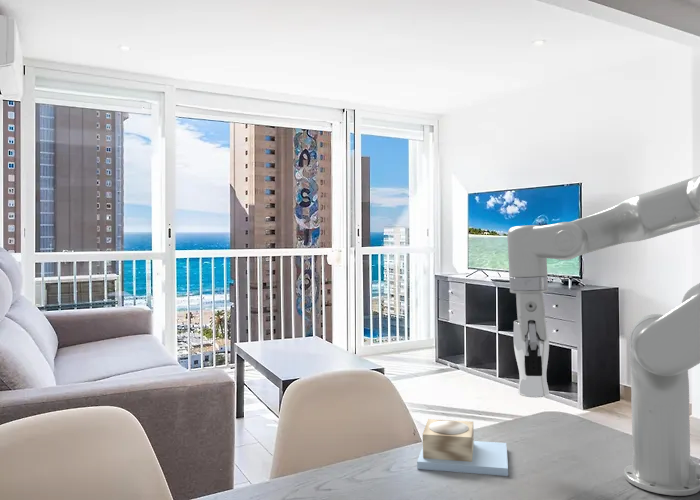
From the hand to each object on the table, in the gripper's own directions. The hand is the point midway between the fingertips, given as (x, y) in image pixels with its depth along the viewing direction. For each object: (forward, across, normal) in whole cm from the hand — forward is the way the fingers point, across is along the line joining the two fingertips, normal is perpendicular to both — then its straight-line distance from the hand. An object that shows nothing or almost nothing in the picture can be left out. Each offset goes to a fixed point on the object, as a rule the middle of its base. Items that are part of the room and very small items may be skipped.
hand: (532, 370), depth 112 cm
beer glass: (+5, 0, 0) cm, 5 cm away
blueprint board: (+19, 0, +15) cm, 24 cm away
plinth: (+18, 0, +18) cm, 25 cm away
